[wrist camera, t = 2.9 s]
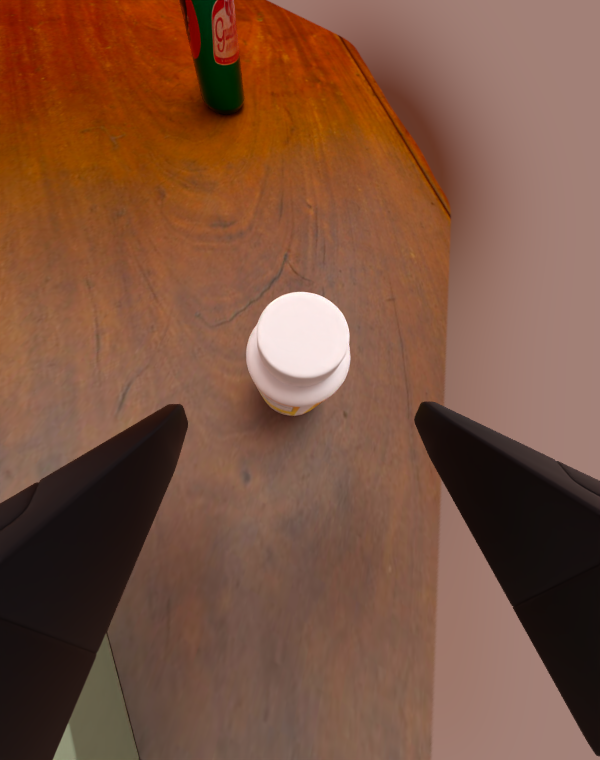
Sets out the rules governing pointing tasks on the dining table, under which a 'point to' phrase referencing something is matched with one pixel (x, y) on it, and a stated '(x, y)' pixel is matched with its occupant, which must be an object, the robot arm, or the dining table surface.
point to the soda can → (215, 52)
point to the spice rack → (99, 717)
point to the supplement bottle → (298, 352)
